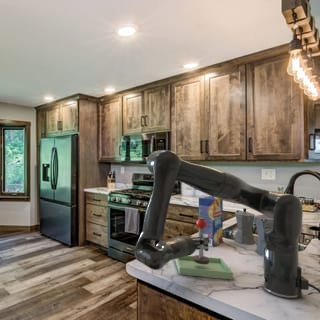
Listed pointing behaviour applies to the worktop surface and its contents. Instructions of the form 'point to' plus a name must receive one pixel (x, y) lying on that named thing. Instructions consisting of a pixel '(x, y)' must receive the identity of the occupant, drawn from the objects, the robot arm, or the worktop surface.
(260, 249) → the moka pot
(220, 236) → the juice carton
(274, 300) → the worktop surface
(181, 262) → the serving tray
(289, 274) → the robot arm
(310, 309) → the worktop surface
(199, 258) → the red topped grey rod
